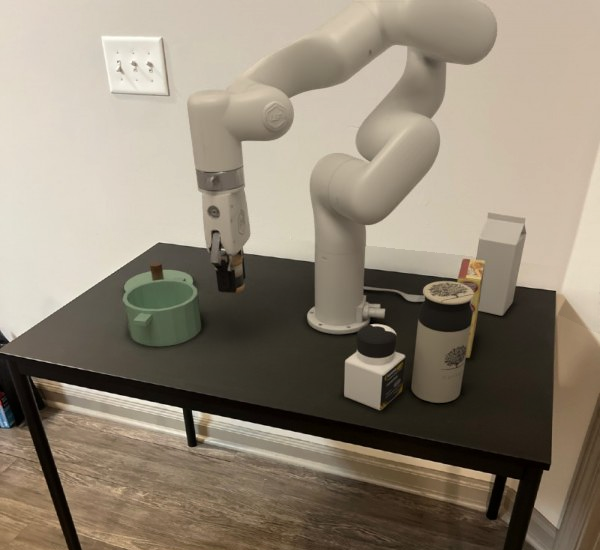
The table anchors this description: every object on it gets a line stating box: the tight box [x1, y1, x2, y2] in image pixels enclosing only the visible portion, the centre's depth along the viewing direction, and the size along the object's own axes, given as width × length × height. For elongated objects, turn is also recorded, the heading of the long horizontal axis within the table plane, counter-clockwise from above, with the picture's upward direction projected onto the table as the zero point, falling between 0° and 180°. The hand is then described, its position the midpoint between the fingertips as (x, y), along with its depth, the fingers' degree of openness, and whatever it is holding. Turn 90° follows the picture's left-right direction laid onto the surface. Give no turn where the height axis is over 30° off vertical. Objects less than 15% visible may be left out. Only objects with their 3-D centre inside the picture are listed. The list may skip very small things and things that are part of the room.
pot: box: [122, 277, 202, 347], centre depth 118 cm, size 14×19×8 cm
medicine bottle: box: [343, 323, 406, 411], centre depth 97 cm, size 7×7×12 cm
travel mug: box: [410, 280, 474, 404], centre depth 95 cm, size 8×8×18 cm
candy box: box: [456, 258, 485, 359], centre depth 108 cm, size 9×4×15 cm, turn 162°
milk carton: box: [475, 212, 527, 317], centre depth 121 cm, size 7×7×19 cm
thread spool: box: [221, 254, 246, 295], centre depth 105 cm, size 4×4×6 cm
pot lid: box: [123, 261, 194, 293], centre depth 135 cm, size 15×15×6 cm
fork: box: [363, 285, 425, 303], centre depth 131 cm, size 3×24×2 cm, turn 63°
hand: (232, 284), depth 106 cm, fingers closed on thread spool, 4 cm apart
